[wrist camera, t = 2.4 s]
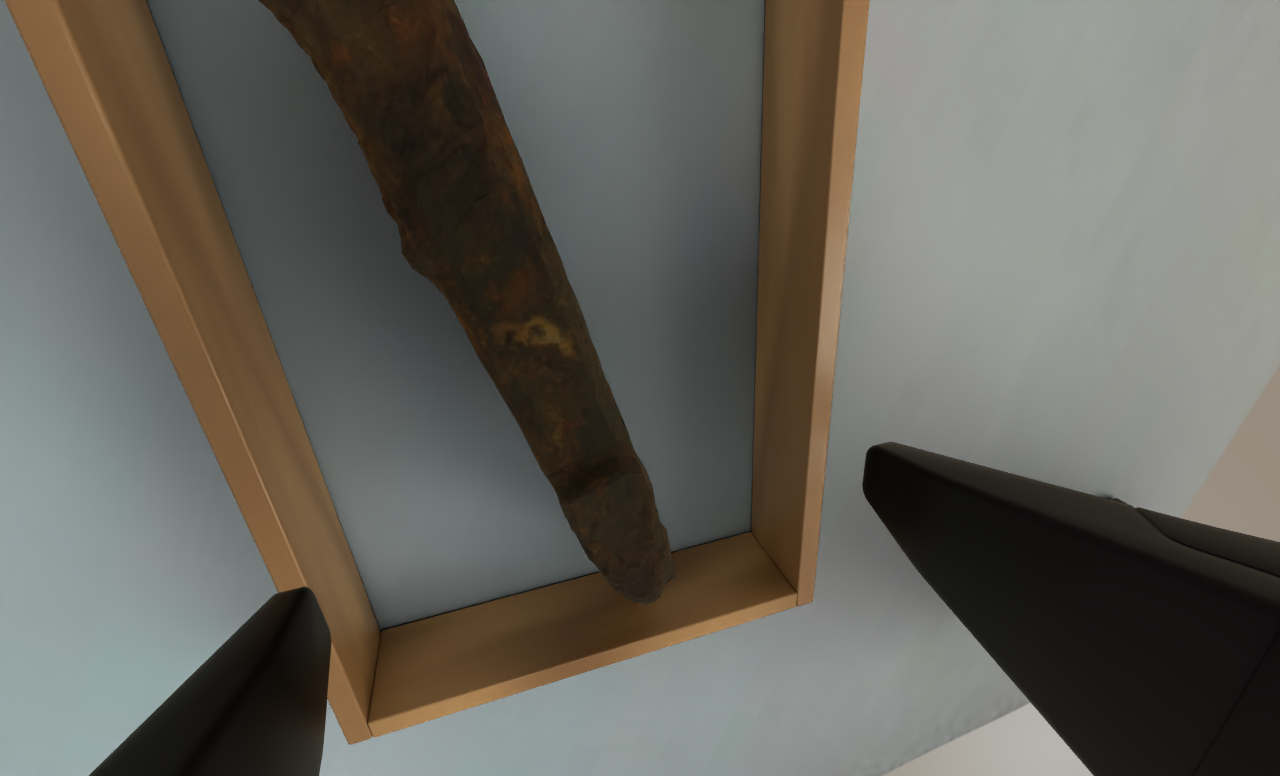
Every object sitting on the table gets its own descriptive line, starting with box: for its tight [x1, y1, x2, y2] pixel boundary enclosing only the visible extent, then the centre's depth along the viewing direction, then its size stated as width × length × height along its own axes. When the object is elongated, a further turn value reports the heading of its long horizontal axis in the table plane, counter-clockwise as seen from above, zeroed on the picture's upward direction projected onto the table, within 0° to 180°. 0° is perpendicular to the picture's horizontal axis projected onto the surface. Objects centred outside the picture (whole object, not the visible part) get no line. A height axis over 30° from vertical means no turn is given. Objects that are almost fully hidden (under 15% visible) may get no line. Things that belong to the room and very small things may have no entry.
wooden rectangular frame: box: [5, 0, 869, 744], centre depth 15 cm, size 16×22×4 cm
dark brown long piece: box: [259, 0, 676, 605], centre depth 15 cm, size 19×4×5 cm, turn 16°
